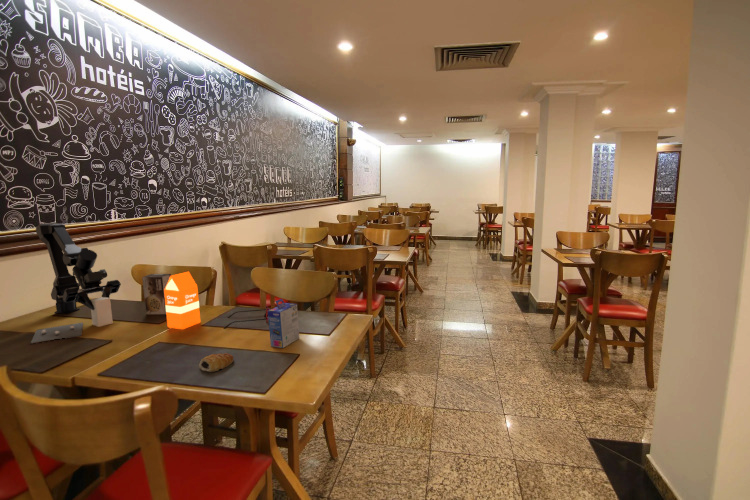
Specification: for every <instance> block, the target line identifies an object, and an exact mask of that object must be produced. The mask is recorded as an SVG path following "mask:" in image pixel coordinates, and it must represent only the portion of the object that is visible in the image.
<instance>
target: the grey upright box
mask: <svg viewBox="0 0 750 500" xmlns="http://www.w3.org/2000/svg"><path fill="white" fill-rule="evenodd" d="M170 276H172V274H171V273H150V274H147V275H144V276H142V286H143V287H142V288H143V295H144V305H145V312H146V313H145V314H146V315H166V306H165V294H164V289H165V287H166V285H167V283H168V281H169V278H170Z"/></svg>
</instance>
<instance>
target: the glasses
mask: <svg viewBox="0 0 750 500" xmlns="http://www.w3.org/2000/svg"><path fill="white" fill-rule="evenodd" d="M269 310H271V309H270V308H268V304H266V305H265V309H253V310H252V309H251V310H241V311H239V310H238V311H235V312H233V313H232V314H230V315H229V316H228V317H227V319H230V318H231V317H232V316H233V315H235V314H237V313H248V312H260V311H261V312H263V311H265V313H264V318H260V319H258V318H257V319H256V318H255V319H248V320H247V319H246V320H235V321H231V322H229V323H228V324H227V325H226V326H224V327H223V329H224V330H225V329H227V328H228V327H229V326H230V325H232V324H234V323H243V322H257V321H265V320H266V321H265V322H266V323H268V321H269V320H268V311H269Z"/></svg>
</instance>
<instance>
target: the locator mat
mask: <svg viewBox="0 0 750 500" xmlns="http://www.w3.org/2000/svg"><path fill="white" fill-rule="evenodd" d="M71 325H74V330H70V326H71ZM83 327H84V323H83V322H76V323H72V324H71V323H70V324H65V325H58V326H52V327H45V328H40V329H36V331H35V333H34V335H33V337H32V339H31V341H30V344H31V343H36V342H41V341H47V340H54V339H60V340H63V339H62V338H65V339H70V338H77V337H82V333H83ZM42 330H46V334H45V335H42ZM55 331H59V334H60V335H58V336H55ZM54 341H55V340H54ZM36 344H37V343H36Z"/></svg>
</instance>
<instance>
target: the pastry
mask: <svg viewBox="0 0 750 500" xmlns="http://www.w3.org/2000/svg"><path fill="white" fill-rule="evenodd" d="M233 362H234V356H233V355H232V354H231V353H227V352H224V353H221V352H220V353H212V354H210V355H207V356H205V357H204V358H201V359H200V361H199V364H198V367H199V368H200V370H201V371H204V372H209V373H213V372H214V373H215V372H218V371H219V370H221V369H222V370H224V369H225V368H226V367H228V366H230V365H231V364H232V363H233Z"/></svg>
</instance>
